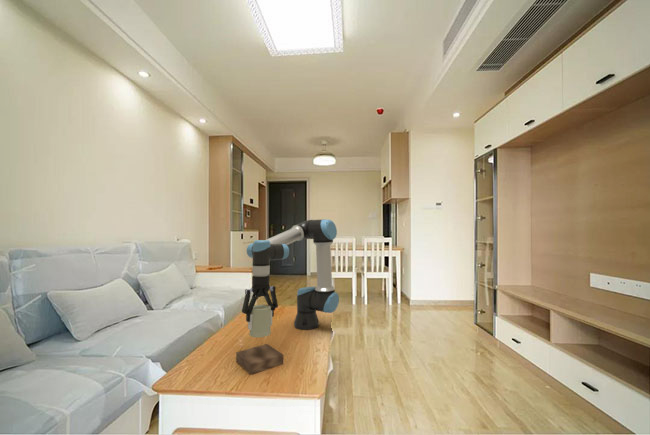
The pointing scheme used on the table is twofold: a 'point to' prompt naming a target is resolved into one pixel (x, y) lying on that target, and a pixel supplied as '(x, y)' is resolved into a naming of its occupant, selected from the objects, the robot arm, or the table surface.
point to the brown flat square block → (259, 358)
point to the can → (261, 321)
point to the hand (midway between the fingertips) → (260, 326)
